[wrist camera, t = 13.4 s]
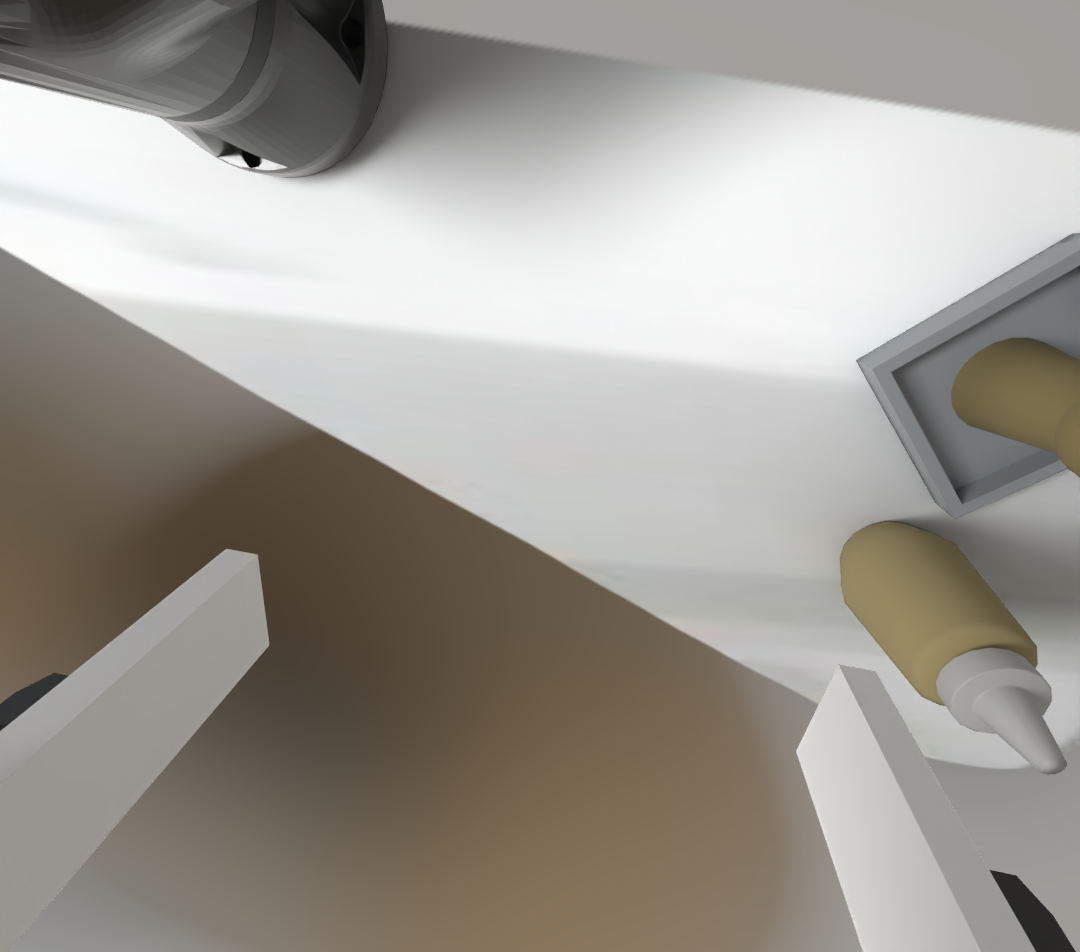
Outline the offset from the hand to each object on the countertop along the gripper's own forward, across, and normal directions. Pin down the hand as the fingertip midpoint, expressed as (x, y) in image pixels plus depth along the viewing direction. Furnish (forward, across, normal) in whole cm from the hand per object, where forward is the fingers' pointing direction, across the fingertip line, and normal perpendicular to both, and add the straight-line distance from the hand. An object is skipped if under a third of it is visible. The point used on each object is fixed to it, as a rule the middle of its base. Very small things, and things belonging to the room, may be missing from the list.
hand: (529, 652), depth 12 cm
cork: (+28, +26, +3) cm, 38 cm away
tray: (+28, +26, +3) cm, 39 cm away
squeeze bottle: (+29, +24, -11) cm, 39 cm away
